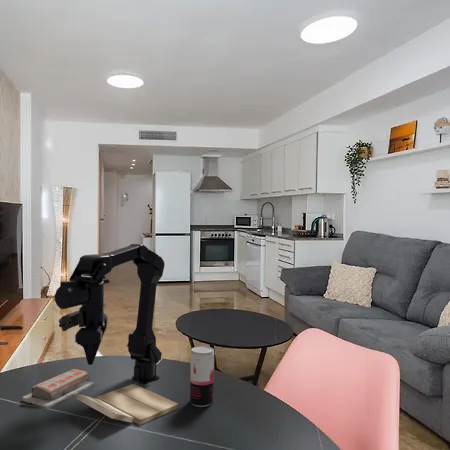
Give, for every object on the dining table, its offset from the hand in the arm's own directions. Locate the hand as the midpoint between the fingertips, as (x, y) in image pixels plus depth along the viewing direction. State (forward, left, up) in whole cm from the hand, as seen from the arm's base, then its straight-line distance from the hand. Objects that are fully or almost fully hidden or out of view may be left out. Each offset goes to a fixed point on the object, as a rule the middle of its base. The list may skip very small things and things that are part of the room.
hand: (92, 358), depth 115 cm
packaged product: (+2, -15, -14) cm, 20 cm away
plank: (+2, +8, -11) cm, 14 cm away
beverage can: (-22, +20, -13) cm, 33 cm away
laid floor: (-9, +8, -13) cm, 18 cm away
